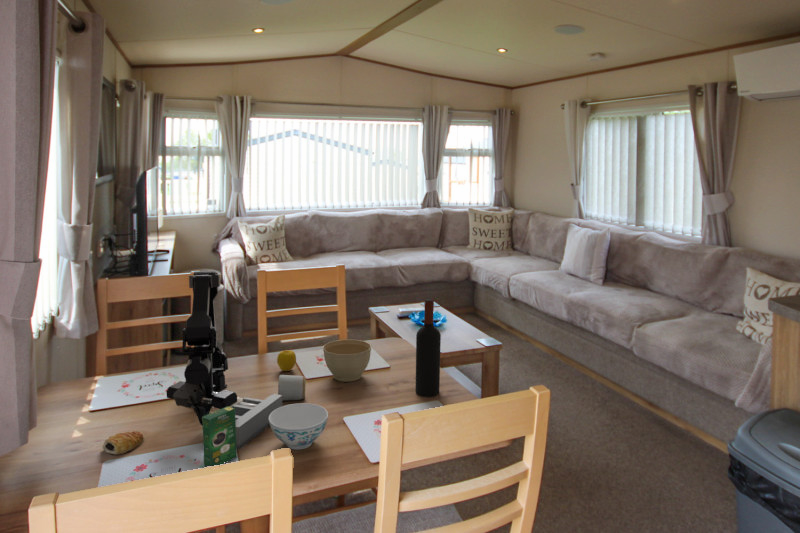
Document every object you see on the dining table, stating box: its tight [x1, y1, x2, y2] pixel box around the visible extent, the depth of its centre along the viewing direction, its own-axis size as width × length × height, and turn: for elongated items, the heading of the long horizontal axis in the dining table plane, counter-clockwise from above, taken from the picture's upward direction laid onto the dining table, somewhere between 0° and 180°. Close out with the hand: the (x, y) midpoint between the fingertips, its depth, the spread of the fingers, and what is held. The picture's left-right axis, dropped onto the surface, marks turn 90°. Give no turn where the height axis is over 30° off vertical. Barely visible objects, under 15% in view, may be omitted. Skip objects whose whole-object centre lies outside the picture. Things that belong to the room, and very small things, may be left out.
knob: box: [229, 396, 257, 407], centre depth 161 cm, size 9×5×5 cm, turn 71°
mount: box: [232, 393, 283, 450], centre depth 155 cm, size 11×21×6 cm, turn 161°
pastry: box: [102, 430, 145, 456], centre depth 144 cm, size 9×7×4 cm
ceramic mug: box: [277, 374, 306, 402], centre depth 175 cm, size 11×8×8 cm
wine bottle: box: [414, 298, 442, 398], centre depth 177 cm, size 8×8×30 cm
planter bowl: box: [322, 339, 372, 383], centre depth 191 cm, size 16×16×11 cm
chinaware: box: [269, 402, 329, 450], centre depth 146 cm, size 15×15×8 cm
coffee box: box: [202, 406, 238, 468], centre depth 136 cm, size 8×3×13 cm, turn 147°
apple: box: [276, 349, 297, 372], centre depth 197 cm, size 6×6×8 cm
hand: (202, 424), depth 153 cm, fingers closed
